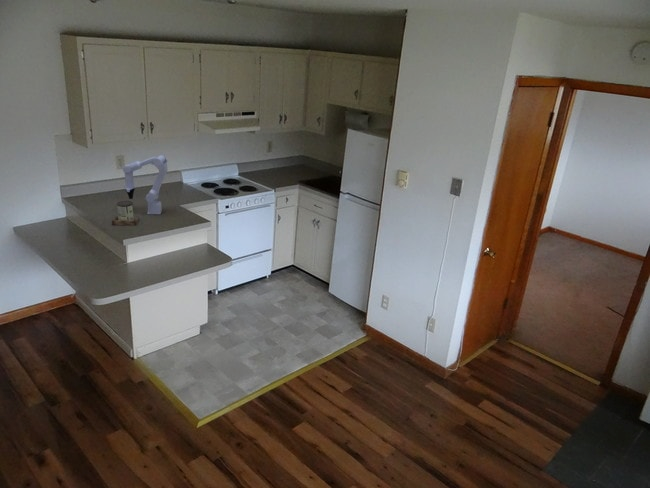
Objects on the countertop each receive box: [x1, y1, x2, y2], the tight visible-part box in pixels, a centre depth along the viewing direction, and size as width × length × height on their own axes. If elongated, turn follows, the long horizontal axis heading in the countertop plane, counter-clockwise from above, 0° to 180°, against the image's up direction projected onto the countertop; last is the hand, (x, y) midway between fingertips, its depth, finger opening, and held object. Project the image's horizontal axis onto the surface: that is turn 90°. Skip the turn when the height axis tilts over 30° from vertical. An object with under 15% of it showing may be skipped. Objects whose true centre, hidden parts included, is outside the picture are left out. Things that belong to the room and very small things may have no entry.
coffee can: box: [116, 200, 135, 220], centre depth 346 cm, size 10×10×14 cm
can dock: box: [111, 215, 140, 226], centre depth 347 cm, size 16×10×3 cm, turn 99°
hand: (131, 198), depth 368 cm, fingers closed
